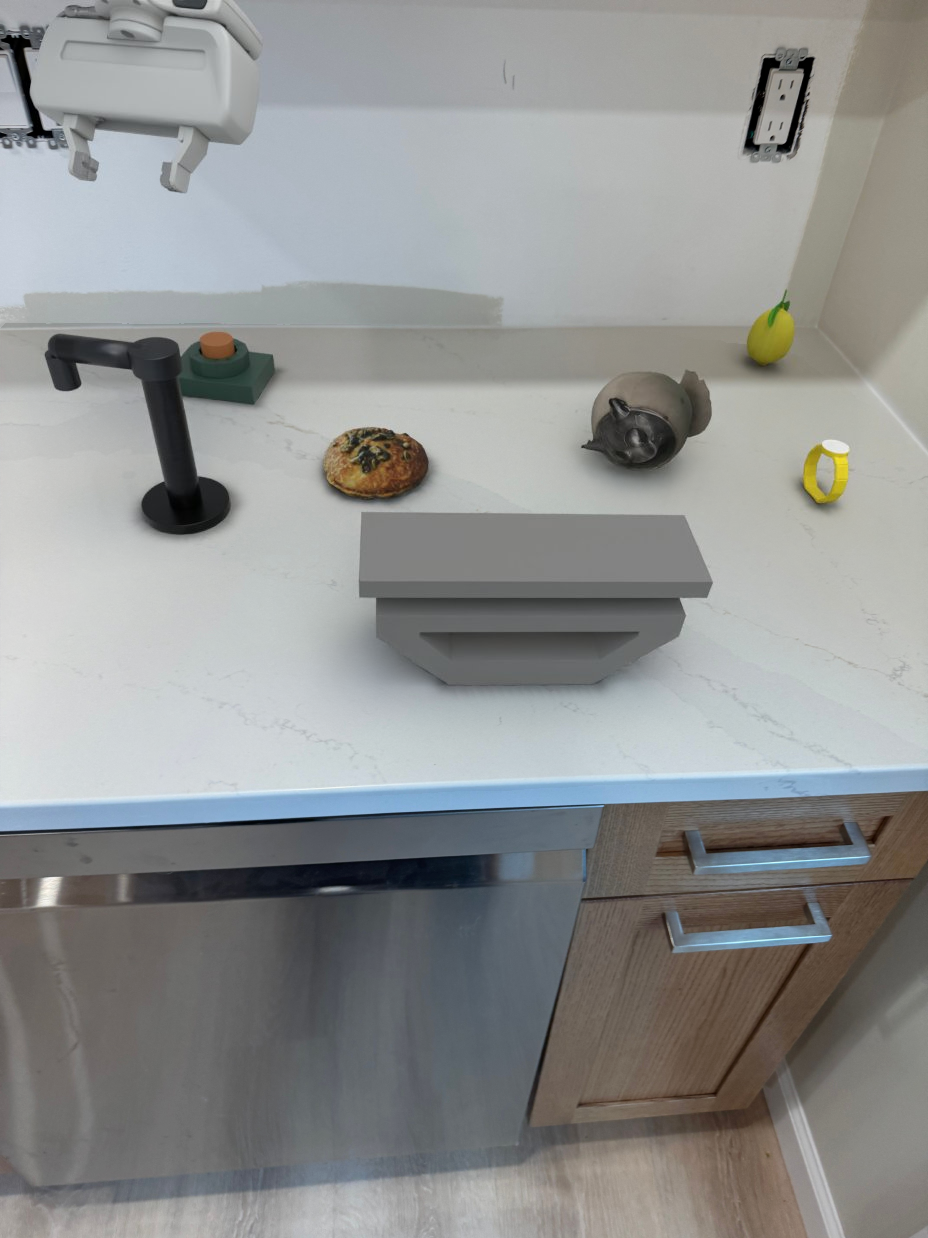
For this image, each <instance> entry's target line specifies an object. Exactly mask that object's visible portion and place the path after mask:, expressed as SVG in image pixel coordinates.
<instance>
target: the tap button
mask: <svg viewBox="0 0 928 1238" xmlns="http://www.w3.org/2000/svg"><path fill="white" fill-rule="evenodd" d="M233 338H234V336H233V335H231V334H230V333H228V332H225V331H210V332H206V333H204V334H203V335H201V336H200V338H199V341H200V344H201V350H202V355H203V356H204V357H206V358H212V359H220V358H227V357H230V356H232V355H234V354H235V350H234V343H233Z"/></svg>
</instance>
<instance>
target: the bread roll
mask: <svg viewBox="0 0 928 1238" xmlns="http://www.w3.org/2000/svg"><path fill="white" fill-rule="evenodd" d="M429 461H430V460H429V457H428V454H427V453H426V449H425V448H424V447H423V444H421V442H419V441H417V440H416V439H415V438H413V437H411V436H410V434H408V433H406V432H403V433H396V432H395V431H394V430H392V429H388V428H385V427H374V426H367V427H366V426H365V427H358V428H352V429H348V430H347V431H346V430H345V431H344V432H343V433H341V434H339V435H338V436H337V437H335V438H334V439H333V440H332V442H331V443H330V444H329V446H328V447H327V449H326V451H325V454H324V458H323V461H322V463H323V469H324V472H325V473H326V480H327V481H328V483H329V484H331V485H332V486H333V487H335V488H337V489H338V490H339V491H341V492H342V493H343V494H344V495H346V496H348V497H353V498H358V499H362V500H364V499H367V500H368V499H375V498H377V499H378V498H379V499H386V498H389V499H391V498H395V497H398V496H401V495H403V494H407V493H409V492H411V491H412V490H414V489H415V488H416V487H418V486H419V485H420V484H421V483H422V481H423V480H424V479H425V477H426V475H427V474H428V471H429V465H430V463H429Z"/></svg>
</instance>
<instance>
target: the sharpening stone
mask: <svg viewBox="0 0 928 1238" xmlns="http://www.w3.org/2000/svg"><path fill="white" fill-rule="evenodd" d="M360 516H361V517H360V535H359V537H360V538H359V539H360V540H359V566H358V597H359V598H360V599H362V598H363V599H375V637H376V638H377V639H378V640H380V641H381V642H383V643H384V644H386V645H387V646H389V647H390V648H392V649H393V650H395V651H397V652H398V653H399V654H401V655H403V656H404V657H406V658H407V659H409V660H410V661H412V662H413V663H415V664H416V665H417V666H419V667H421V668H422V669H424V670H425V671H427V672H428V673H429V674H431V675H433V676H435V677H436V678H437V679H439V680H441V681H442V682H443V683H445V684H446V685H449V686H454V687H455V686H544V685H546V686H547V685H549V686H553V685H554V686H555V685H595V684H596V683H598V682H600V681H601V680H604V679H605V678H607V677H609V676H610V675H613V674H614V673H616V672H618V671H619V670H622V669H624V668H625V667H626V666H629V665H630V664H632V663H634V662H635V661H638V660H639V659H641V658H642V657H644V656H646V655H648V654H649V653H650V654H651V652H653V651H655V650H657V649H659V648H660V647H662V646H664V645H666V644H668V643H670V642H671V641H673V640H675V639H677V638H679V637H680V635H681V632H682V629H683V626H684V623H685V620H686V617H687V614H686V611H685V609H684V606H683V604H682V600H681V599H707V598H708V597H709V595H710V591H711V589H712V586H713V583H714V581H713V578H712V577H711V573H710V572H709V569H708V567H707V564H706V562H705V560H704V557H703V555H702V553H701V550H700V547H699V546H698V543H697V541H696V538H695V536H694V534H693V531H692V528H691V527H690V525H689V521H688V520H687V517H686V515H685V514H623V513H621V514H620V513H619V514H616V513H615V514H613V513H610V514H609V513H524V512H523V513H519V512H517V513H513V512H512V513H511V512H502V513H501V512H421V511H420V512H418V511H417V512H416V511H415V512H414V511H412V512H411V511H409V512H408V511H405V512H404V511H403V512H402V511H400V512H399V511H361V515H360Z"/></svg>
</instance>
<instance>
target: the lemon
mask: <svg viewBox="0 0 928 1238" xmlns="http://www.w3.org/2000/svg"><path fill="white" fill-rule="evenodd" d="M787 293H788V289H787V288H786V289H784V293H783V296H782V299H781V301H780V302H779V303H777V305H775V306H774V307H772V308H770V309H768V310H766V311H764V312H763V313H761V314H760V315H759V316H758V317H757V318H756V319H755V321H754V322H753V324H752V325H751V328H750V330H749V332H748V335H747V338H746V350H747V354H748V356H749V357H750V358H751V359H752V360H754V361H756V362H757V364H758V365H759V366H761V367H764V366H766V365H767V364H773V363H776V362H778V361H780V360H782V359H783V358H784V357H785V356H786V355H787V354H788V353H789V351H790V349H791V347H792V346H793V345H792V344H793V343H794V338H795V331H796V330H795V329H796V327H795V322H794V318H793V316H792V315H791V314H790V313H789V312H788V311H789V309H790V306H791V301H790V300H787V301H786V302H785V299H786V296H787Z"/></svg>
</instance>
